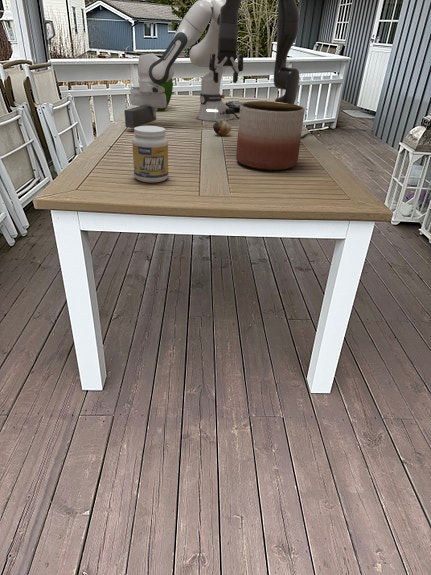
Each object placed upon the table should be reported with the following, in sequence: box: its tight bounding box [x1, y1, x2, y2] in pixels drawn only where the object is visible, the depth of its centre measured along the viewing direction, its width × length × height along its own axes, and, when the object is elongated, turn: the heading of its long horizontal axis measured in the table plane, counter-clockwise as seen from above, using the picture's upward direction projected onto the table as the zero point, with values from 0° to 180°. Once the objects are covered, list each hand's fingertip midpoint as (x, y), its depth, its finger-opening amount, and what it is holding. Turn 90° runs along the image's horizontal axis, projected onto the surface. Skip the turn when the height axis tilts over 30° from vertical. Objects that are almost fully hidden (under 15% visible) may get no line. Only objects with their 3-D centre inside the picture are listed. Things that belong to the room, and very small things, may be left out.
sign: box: [224, 100, 244, 114], centre depth 286 cm, size 19×3×30 cm
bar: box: [124, 105, 157, 129], centre depth 216 cm, size 26×5×8 cm, turn 161°
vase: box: [156, 77, 174, 112], centre depth 261 cm, size 20×20×24 cm
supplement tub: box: [131, 125, 169, 183], centre depth 142 cm, size 12×12×17 cm
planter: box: [235, 100, 306, 171], centre depth 164 cm, size 25×25×22 cm
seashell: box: [212, 119, 232, 136], centre depth 209 cm, size 10×6×8 cm, turn 97°
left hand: (149, 115), depth 224 cm, fingers closed on bar, 5 cm apart
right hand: (225, 82), depth 170 cm, fingers open, 8 cm apart
